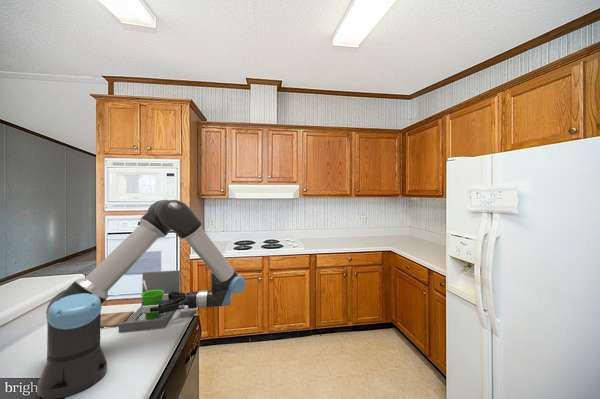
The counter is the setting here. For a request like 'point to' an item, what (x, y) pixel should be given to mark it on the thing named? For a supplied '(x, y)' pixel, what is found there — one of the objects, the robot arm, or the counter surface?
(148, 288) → the equipment case
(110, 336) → the counter surface
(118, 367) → the counter surface
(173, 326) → the counter surface
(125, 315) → the board
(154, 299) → the cup
